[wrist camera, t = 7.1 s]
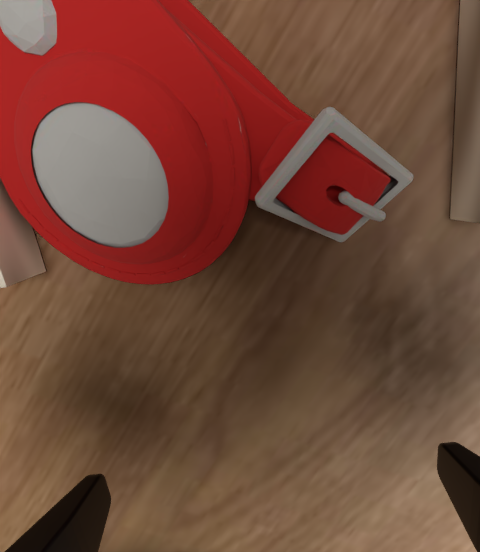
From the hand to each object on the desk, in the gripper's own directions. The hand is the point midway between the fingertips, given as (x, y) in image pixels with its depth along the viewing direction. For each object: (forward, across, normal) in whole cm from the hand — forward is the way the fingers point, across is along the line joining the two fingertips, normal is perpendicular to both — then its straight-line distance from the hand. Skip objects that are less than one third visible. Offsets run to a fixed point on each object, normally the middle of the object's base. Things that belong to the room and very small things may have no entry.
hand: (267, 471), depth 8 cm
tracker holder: (+5, +2, -8) cm, 10 cm away
